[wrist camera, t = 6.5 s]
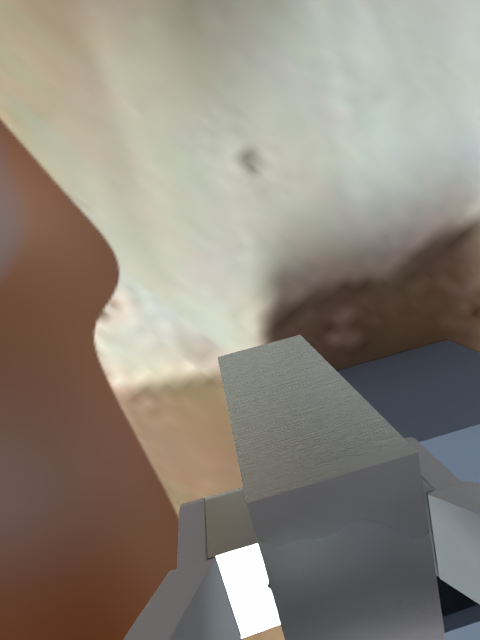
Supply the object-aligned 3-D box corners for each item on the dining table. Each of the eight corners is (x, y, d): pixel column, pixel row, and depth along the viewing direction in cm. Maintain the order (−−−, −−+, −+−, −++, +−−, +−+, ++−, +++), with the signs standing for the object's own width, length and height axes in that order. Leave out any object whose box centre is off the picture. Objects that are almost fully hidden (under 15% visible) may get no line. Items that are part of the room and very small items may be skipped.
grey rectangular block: (217, 357, 9) (246, 503, 4) (300, 334, 9) (418, 452, 4) (274, 560, 11) (341, 837, 6) (344, 539, 11) (467, 793, 6)
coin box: (263, 391, 28) (302, 477, 18) (447, 339, 29) (577, 394, 19) (307, 569, 32) (358, 717, 22) (468, 518, 33) (585, 639, 23)
